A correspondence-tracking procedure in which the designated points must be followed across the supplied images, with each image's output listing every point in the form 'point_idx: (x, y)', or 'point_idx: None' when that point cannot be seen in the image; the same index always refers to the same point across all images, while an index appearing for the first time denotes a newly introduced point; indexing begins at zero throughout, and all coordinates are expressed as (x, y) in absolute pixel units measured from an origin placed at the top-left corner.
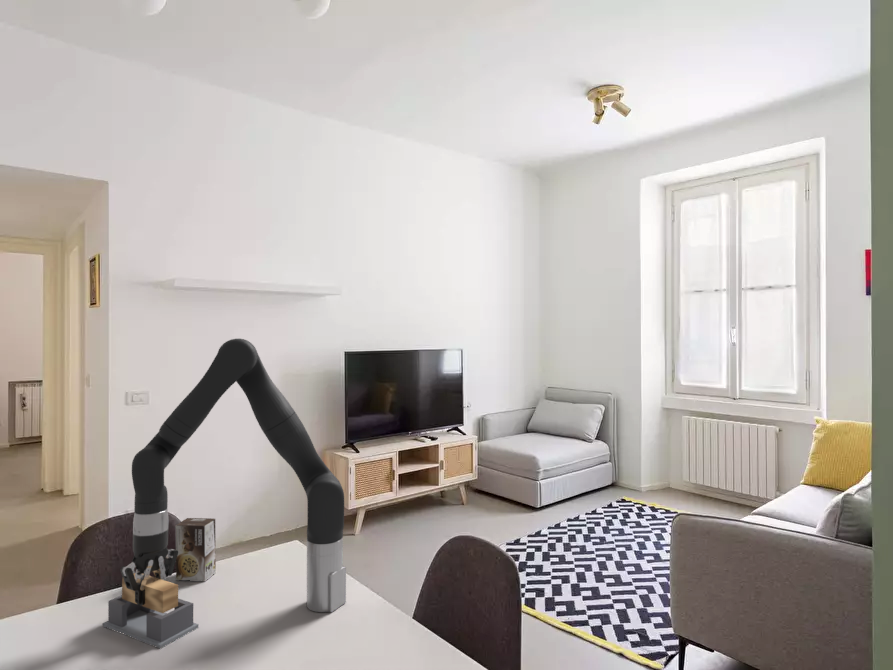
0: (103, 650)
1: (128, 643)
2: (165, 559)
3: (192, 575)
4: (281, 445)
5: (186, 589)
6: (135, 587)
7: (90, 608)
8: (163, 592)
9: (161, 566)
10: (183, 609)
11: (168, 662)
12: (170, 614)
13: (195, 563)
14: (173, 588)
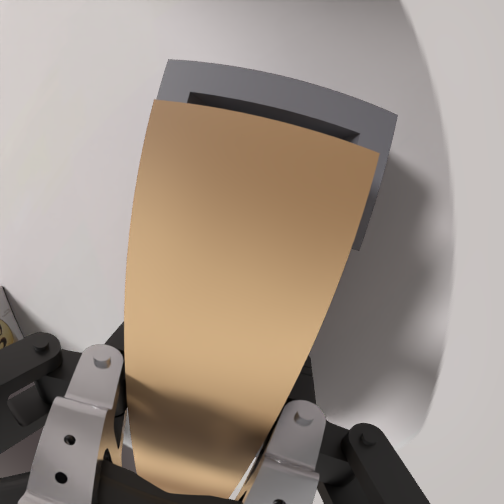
0: (398, 313)
1: (357, 268)
2: (6, 448)
3: (6, 326)
4: None
5: (36, 310)
6: (376, 440)
7: None
8: (370, 150)
9: (70, 467)
10: (240, 70)
11: (423, 53)
12: (334, 94)
13: None
14: (228, 110)
